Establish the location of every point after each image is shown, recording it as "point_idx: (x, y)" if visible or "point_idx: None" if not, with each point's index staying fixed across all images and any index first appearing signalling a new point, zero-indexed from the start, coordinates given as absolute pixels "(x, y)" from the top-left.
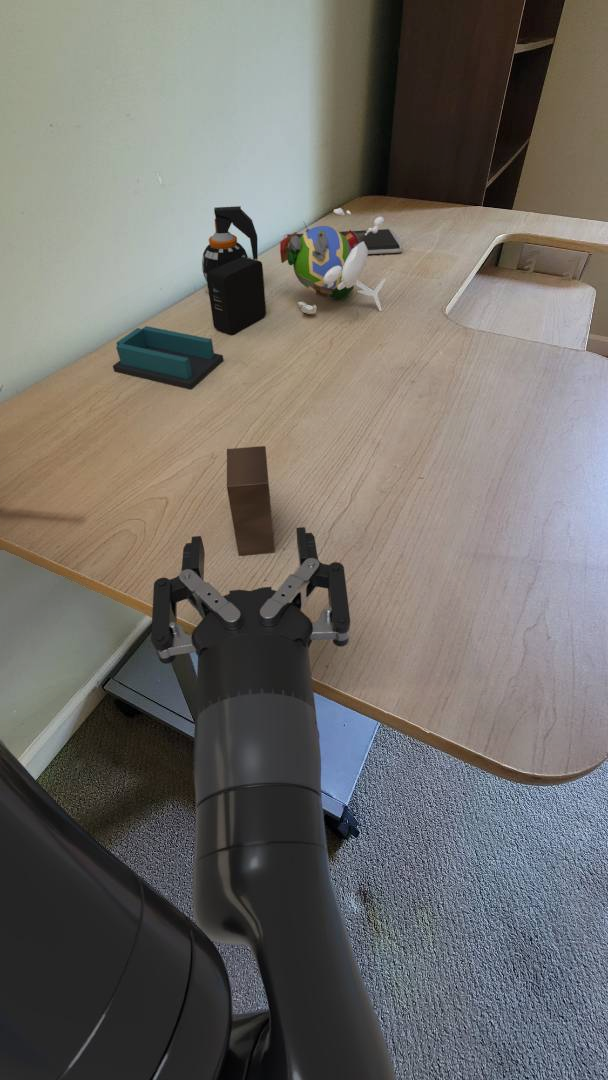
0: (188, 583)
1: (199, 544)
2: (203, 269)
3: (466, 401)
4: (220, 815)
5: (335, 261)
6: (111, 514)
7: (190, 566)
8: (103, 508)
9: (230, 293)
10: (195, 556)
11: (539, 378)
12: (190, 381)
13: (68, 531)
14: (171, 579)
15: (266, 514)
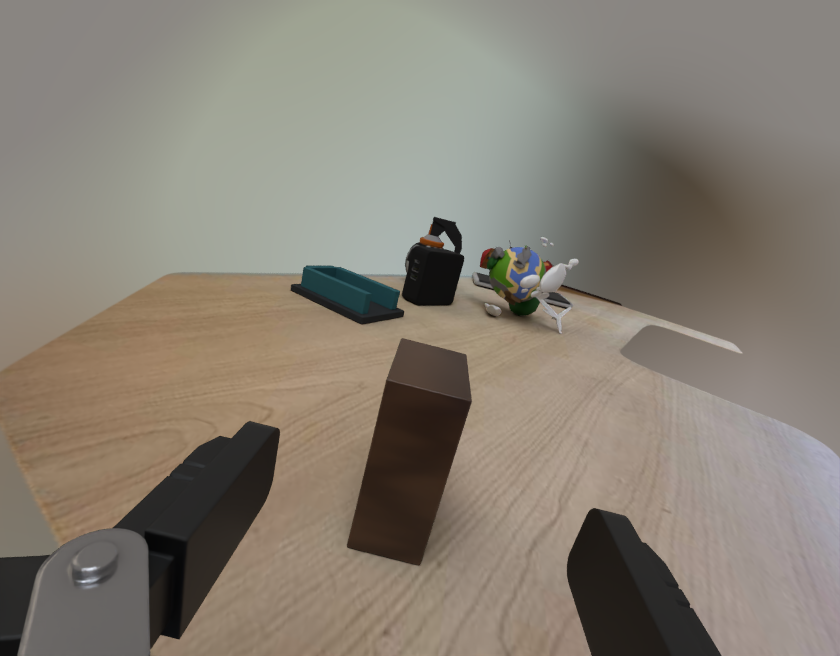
0: (51, 625)
1: (257, 449)
2: (407, 257)
3: (686, 432)
4: None
5: (532, 274)
6: (174, 402)
7: (158, 521)
8: (170, 391)
9: (429, 267)
10: (213, 485)
11: (764, 437)
12: (364, 316)
13: (86, 402)
14: (18, 559)
15: (438, 472)
